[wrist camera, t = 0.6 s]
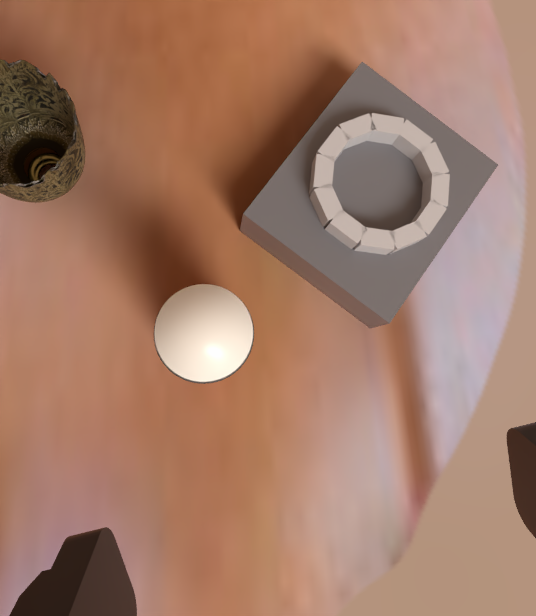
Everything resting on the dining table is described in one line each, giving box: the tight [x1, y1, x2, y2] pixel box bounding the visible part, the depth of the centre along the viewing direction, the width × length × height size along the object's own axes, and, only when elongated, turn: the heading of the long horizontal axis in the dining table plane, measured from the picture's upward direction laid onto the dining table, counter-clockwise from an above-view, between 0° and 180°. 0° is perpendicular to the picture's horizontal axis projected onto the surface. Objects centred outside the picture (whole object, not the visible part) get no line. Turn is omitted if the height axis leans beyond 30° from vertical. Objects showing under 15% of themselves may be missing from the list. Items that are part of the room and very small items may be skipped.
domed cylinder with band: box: [154, 284, 254, 384], centre depth 30 cm, size 5×5×10 cm
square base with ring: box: [240, 62, 498, 328], centre depth 35 cm, size 12×14×6 cm
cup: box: [0, 60, 85, 202], centre depth 32 cm, size 8×7×8 cm
